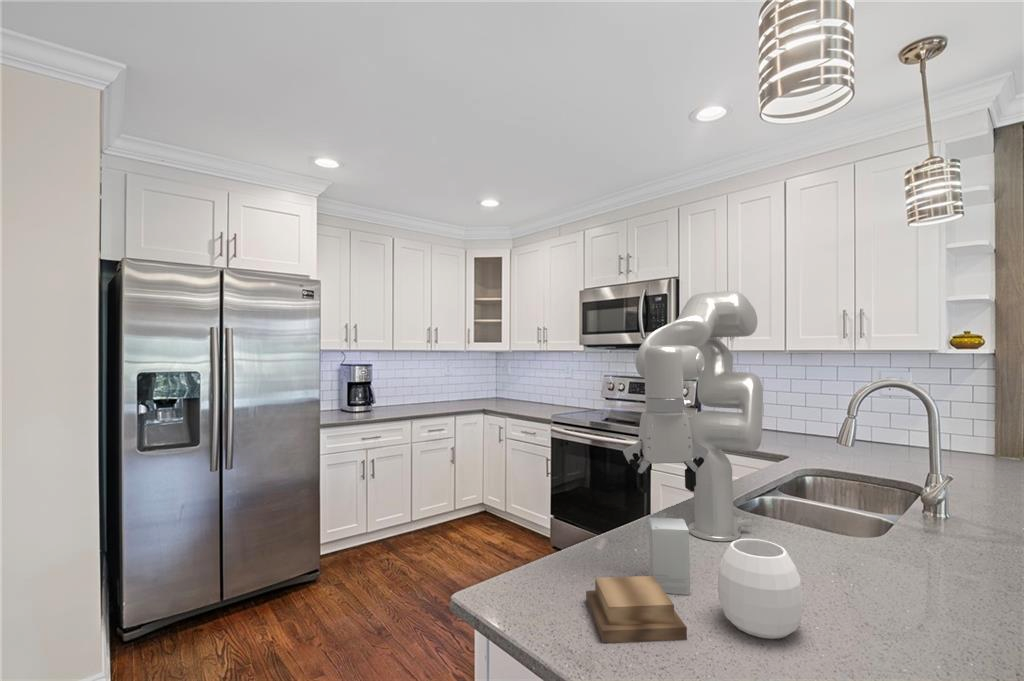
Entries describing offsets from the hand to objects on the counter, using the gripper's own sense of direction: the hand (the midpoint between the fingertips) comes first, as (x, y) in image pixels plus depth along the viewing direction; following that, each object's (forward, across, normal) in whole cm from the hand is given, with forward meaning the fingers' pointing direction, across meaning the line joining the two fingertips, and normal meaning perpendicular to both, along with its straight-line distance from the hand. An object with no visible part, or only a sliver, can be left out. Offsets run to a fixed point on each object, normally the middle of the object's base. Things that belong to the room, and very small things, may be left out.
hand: (666, 490), depth 103 cm
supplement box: (+19, 0, 0) cm, 19 cm away
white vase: (+19, -10, +16) cm, 27 cm away
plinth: (+19, +11, +12) cm, 25 cm away
